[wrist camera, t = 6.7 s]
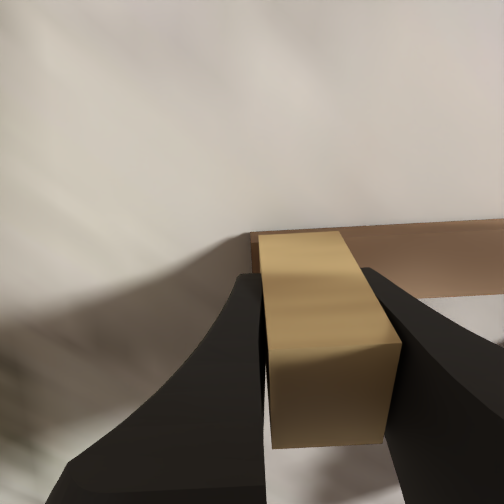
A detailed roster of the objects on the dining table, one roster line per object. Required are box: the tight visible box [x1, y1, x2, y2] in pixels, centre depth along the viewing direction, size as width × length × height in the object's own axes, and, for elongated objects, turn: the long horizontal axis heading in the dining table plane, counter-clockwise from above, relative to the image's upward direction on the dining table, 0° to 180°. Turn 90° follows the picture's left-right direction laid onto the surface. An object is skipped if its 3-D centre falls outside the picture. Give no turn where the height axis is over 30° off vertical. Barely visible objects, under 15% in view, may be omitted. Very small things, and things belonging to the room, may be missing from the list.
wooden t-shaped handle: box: [250, 219, 504, 449], centre depth 12 cm, size 12×15×6 cm
